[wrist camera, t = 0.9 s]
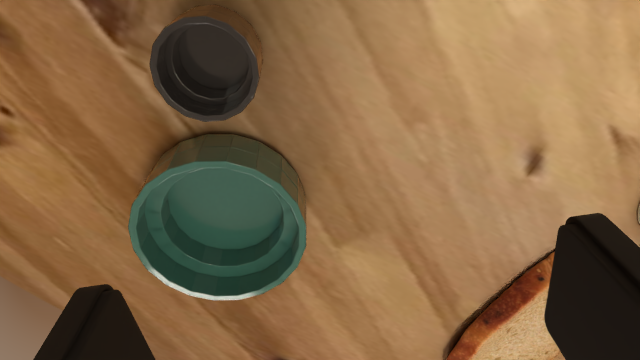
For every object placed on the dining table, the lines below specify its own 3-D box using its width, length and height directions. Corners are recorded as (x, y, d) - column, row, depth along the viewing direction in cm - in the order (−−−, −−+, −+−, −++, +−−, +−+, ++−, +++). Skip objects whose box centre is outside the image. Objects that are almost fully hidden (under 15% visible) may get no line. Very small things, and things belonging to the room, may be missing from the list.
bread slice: (590, 238, 45) (613, 262, 42) (591, 345, 54) (611, 372, 51) (421, 285, 47) (431, 312, 44) (450, 381, 56) (459, 409, 53)
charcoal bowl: (161, 81, 34) (142, 104, 30) (178, -11, 31) (159, -1, 27) (249, 108, 36) (243, 133, 31) (274, 23, 32) (271, 38, 28)
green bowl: (138, 241, 42) (118, 281, 37) (162, 109, 35) (142, 138, 31) (279, 272, 45) (277, 313, 40) (325, 157, 38) (330, 190, 34)
